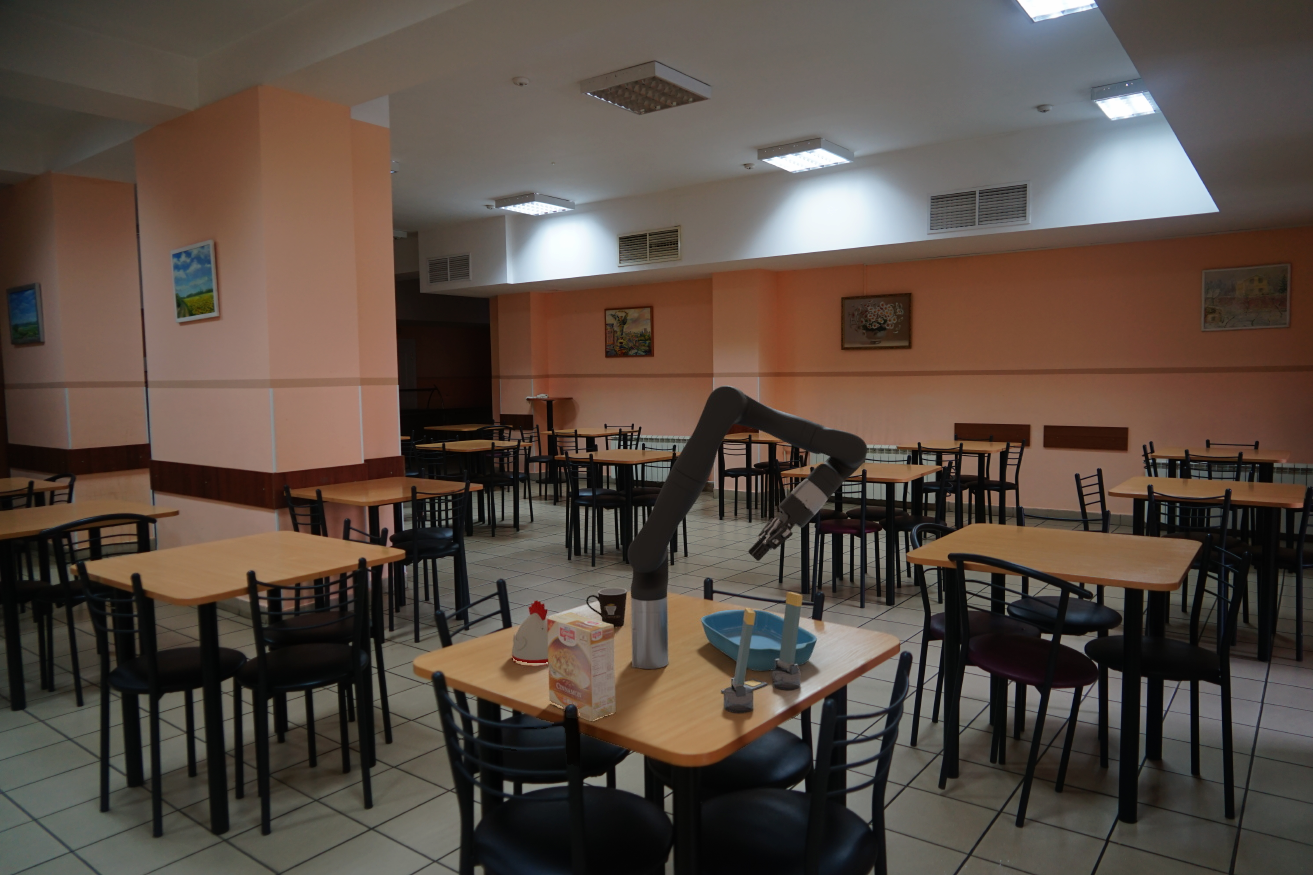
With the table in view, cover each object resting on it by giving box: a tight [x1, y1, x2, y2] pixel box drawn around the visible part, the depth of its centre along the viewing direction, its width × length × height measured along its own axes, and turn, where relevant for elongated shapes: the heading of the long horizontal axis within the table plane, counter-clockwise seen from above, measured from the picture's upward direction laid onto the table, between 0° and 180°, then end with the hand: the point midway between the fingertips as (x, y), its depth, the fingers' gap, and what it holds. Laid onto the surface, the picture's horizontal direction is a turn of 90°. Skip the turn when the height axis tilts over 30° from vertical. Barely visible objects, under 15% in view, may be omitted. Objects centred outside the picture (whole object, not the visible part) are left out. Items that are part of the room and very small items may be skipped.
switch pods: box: [723, 659, 801, 714], centre depth 178 cm, size 24×6×6 cm, turn 135°
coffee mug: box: [585, 587, 628, 628], centre depth 238 cm, size 12×9×10 cm
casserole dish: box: [700, 609, 818, 672], centre depth 209 cm, size 37×22×7 cm, turn 22°
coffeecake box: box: [547, 611, 617, 722], centre depth 173 cm, size 15×7×20 cm, turn 45°
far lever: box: [777, 591, 804, 671], centre depth 185 cm, size 2×4×18 cm, turn 32°
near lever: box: [732, 607, 756, 690], centre depth 172 cm, size 2×4×18 cm, turn 6°
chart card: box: [720, 678, 768, 694], centre depth 183 cm, size 11×4×1 cm, turn 131°
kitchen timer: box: [511, 599, 550, 663], centre depth 208 cm, size 14×14×15 cm
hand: (753, 556), depth 185 cm, fingers open, 3 cm apart
